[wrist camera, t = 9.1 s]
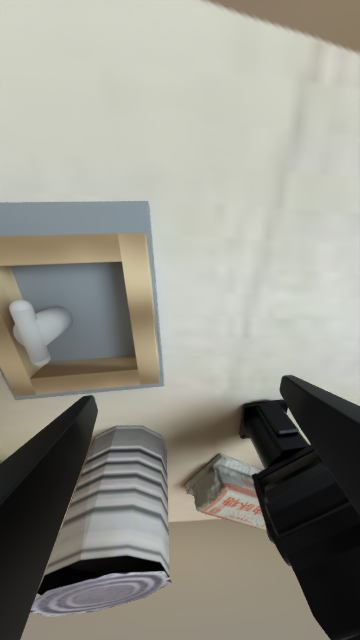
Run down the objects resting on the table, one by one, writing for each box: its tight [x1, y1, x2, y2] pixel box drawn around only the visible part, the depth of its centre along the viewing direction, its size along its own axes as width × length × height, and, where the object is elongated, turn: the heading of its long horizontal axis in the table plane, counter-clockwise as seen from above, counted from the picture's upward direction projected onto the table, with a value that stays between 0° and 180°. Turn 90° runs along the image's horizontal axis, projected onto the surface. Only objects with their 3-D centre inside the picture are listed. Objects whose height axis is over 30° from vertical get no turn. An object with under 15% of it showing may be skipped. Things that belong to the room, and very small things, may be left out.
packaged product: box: [185, 454, 266, 530], centre depth 29 cm, size 18×5×10 cm
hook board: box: [0, 201, 164, 400], centre depth 14 cm, size 18×16×6 cm
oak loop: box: [0, 233, 160, 397], centre depth 15 cm, size 13×13×2 cm
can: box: [30, 426, 171, 617], centre depth 20 cm, size 11×11×12 cm
